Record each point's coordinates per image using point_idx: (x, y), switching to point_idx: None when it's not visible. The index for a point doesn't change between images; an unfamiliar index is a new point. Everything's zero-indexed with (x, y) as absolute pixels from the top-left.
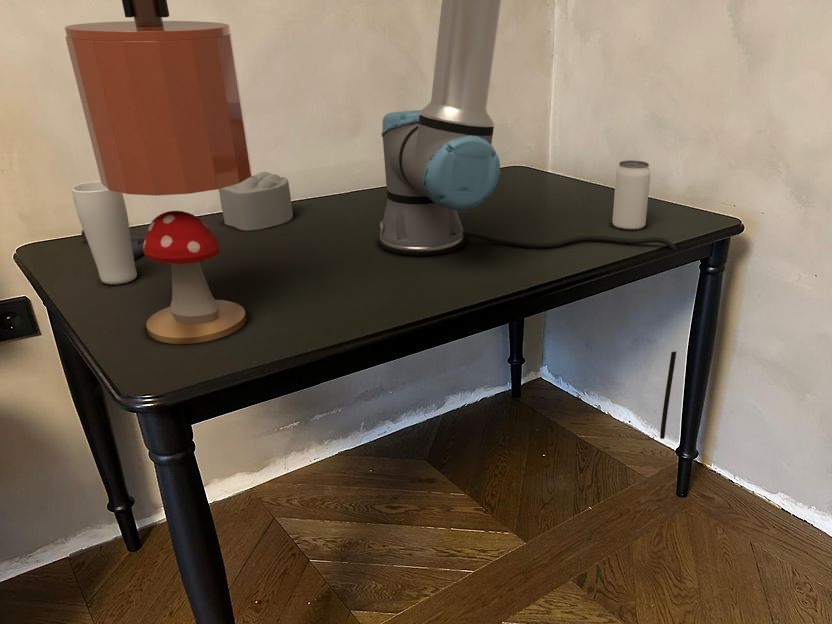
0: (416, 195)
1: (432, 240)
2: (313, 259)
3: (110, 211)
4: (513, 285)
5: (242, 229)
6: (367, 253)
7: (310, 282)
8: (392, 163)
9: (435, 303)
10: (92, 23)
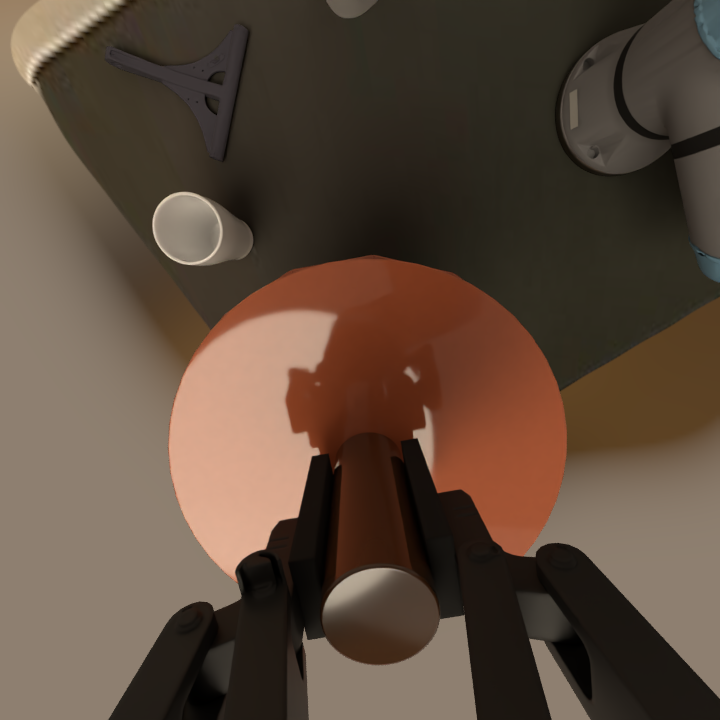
0: (667, 135)
1: (637, 167)
2: (461, 175)
3: (224, 257)
4: (699, 291)
5: (338, 14)
6: (534, 154)
7: (464, 263)
8: (671, 102)
9: (601, 338)
10: (192, 400)
